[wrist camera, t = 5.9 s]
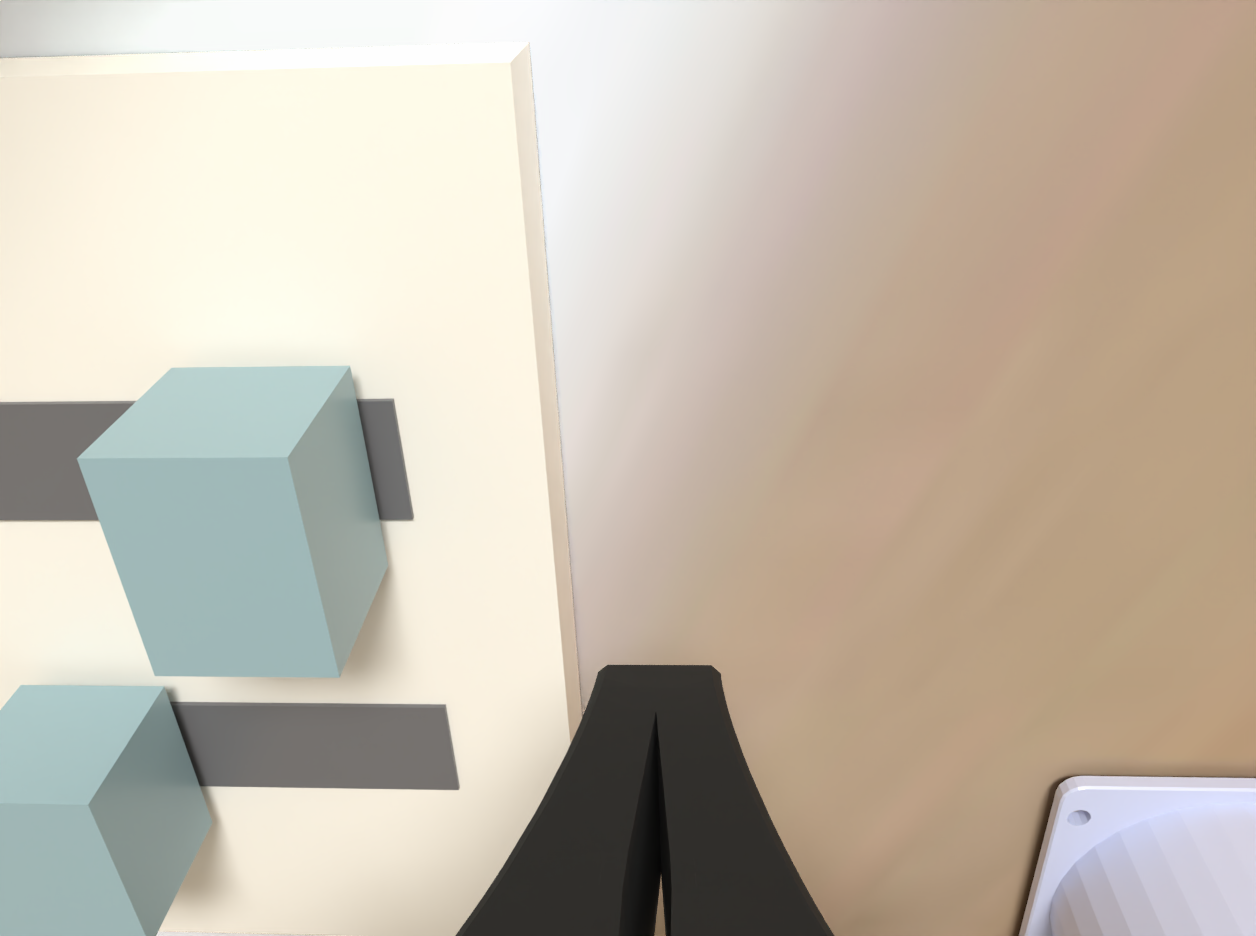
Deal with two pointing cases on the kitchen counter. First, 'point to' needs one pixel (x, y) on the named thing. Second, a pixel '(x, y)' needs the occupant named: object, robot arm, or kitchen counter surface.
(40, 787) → the tab
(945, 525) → the kitchen counter surface
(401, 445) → the switch panel
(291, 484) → the tab
